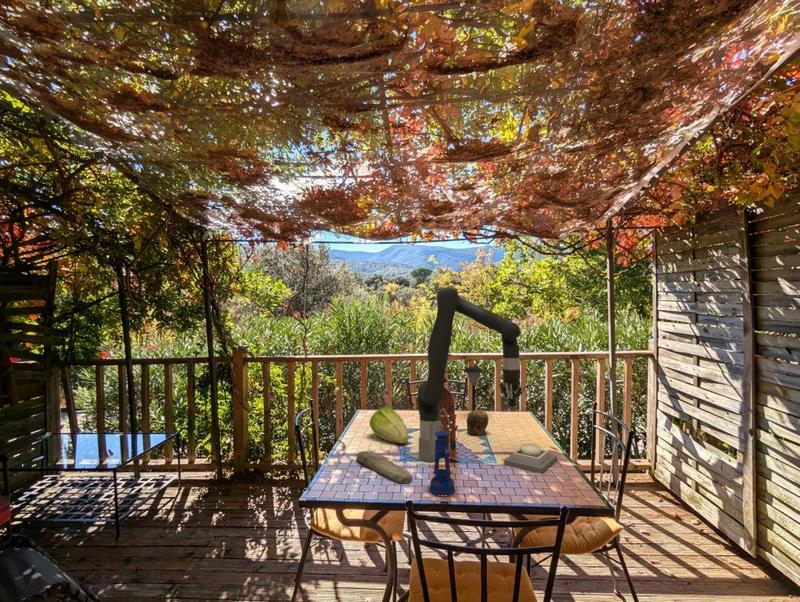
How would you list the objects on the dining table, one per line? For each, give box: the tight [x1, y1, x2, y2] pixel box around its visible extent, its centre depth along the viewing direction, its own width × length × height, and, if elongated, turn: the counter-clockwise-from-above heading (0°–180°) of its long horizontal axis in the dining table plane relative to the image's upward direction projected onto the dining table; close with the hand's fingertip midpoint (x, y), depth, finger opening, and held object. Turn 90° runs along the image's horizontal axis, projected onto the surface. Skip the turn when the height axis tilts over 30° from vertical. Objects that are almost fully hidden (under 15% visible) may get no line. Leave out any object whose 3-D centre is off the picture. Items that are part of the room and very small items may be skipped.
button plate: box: [503, 447, 558, 474], centre depth 193 cm, size 18×16×4 cm
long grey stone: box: [356, 450, 413, 485], centre depth 186 cm, size 35×5×10 cm
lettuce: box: [369, 406, 409, 444], centre depth 225 cm, size 15×24×16 cm
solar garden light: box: [462, 366, 485, 411], centre depth 256 cm, size 12×12×30 cm
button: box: [520, 443, 542, 457], centre depth 193 cm, size 8×8×3 cm
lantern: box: [428, 408, 456, 497], centre depth 165 cm, size 11×9×30 cm
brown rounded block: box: [466, 409, 489, 437], centre depth 233 cm, size 11×11×12 cm
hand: (512, 406), depth 201 cm, fingers closed
